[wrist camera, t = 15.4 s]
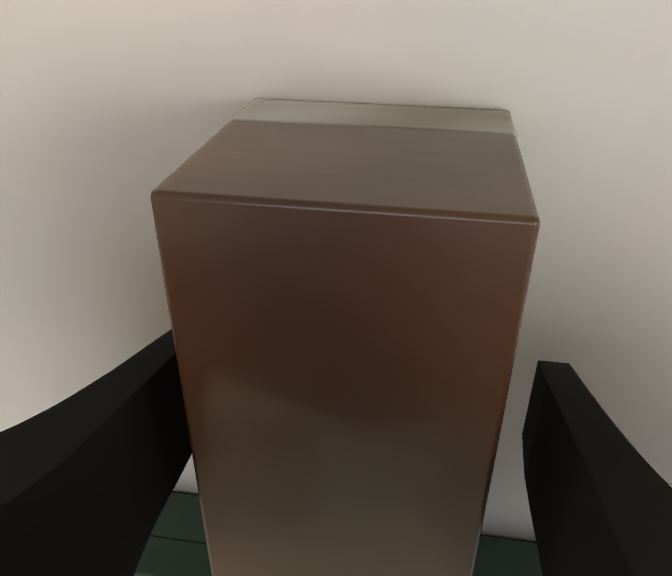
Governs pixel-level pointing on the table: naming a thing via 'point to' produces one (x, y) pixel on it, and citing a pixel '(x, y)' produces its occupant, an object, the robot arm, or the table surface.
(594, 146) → the table surface
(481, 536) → the tray
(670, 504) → the robot arm
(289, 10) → the table surface
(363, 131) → the eraser
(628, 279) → the table surface
